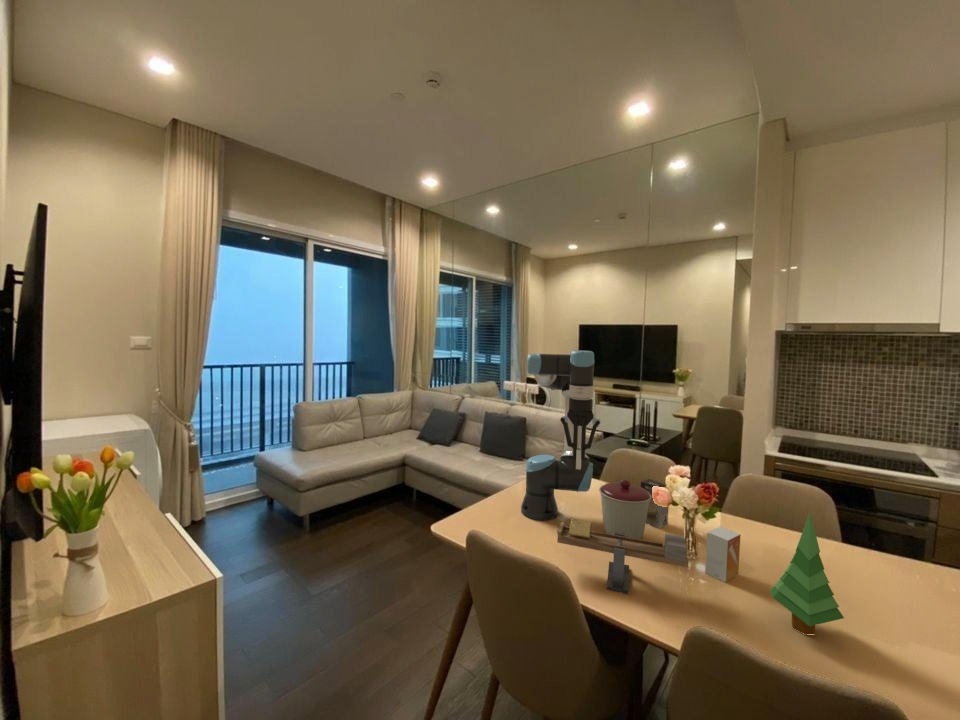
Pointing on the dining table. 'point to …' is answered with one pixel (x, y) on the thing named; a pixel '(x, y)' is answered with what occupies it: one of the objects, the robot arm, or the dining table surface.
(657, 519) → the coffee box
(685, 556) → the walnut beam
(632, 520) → the canister
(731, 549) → the small box
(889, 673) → the dining table surface
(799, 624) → the decorative tree
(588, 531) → the block
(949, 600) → the dining table surface
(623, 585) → the beam stand
